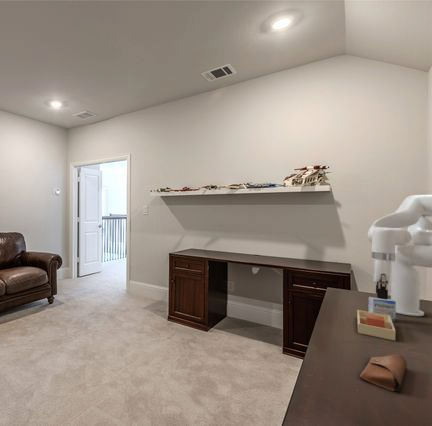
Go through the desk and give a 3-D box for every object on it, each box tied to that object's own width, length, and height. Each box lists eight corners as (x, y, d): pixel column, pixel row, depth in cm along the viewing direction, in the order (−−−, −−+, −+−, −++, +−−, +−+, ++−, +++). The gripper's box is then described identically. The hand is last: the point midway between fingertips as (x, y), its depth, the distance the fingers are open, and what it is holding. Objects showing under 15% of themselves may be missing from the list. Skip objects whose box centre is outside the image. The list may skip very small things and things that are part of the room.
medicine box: (372, 319, 129) (372, 299, 128) (367, 315, 133) (368, 296, 133) (395, 321, 126) (396, 301, 125) (390, 318, 130) (391, 298, 130)
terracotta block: (366, 326, 118) (366, 314, 118) (383, 329, 115) (383, 317, 115) (366, 330, 114) (367, 317, 114) (384, 334, 111) (384, 320, 111)
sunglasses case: (368, 356, 95) (383, 341, 92) (394, 375, 90) (411, 361, 88) (358, 377, 83) (375, 361, 80) (387, 400, 78) (406, 385, 76)
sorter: (357, 318, 130) (357, 309, 130) (389, 324, 123) (390, 315, 123) (357, 332, 114) (358, 323, 114) (395, 340, 107) (395, 330, 107)
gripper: (370, 254, 138) (369, 290, 138) (372, 257, 124) (370, 298, 124) (392, 255, 133) (391, 294, 133) (397, 260, 120) (395, 302, 120)
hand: (381, 296), depth 129 cm, fingers open, 9 cm apart
